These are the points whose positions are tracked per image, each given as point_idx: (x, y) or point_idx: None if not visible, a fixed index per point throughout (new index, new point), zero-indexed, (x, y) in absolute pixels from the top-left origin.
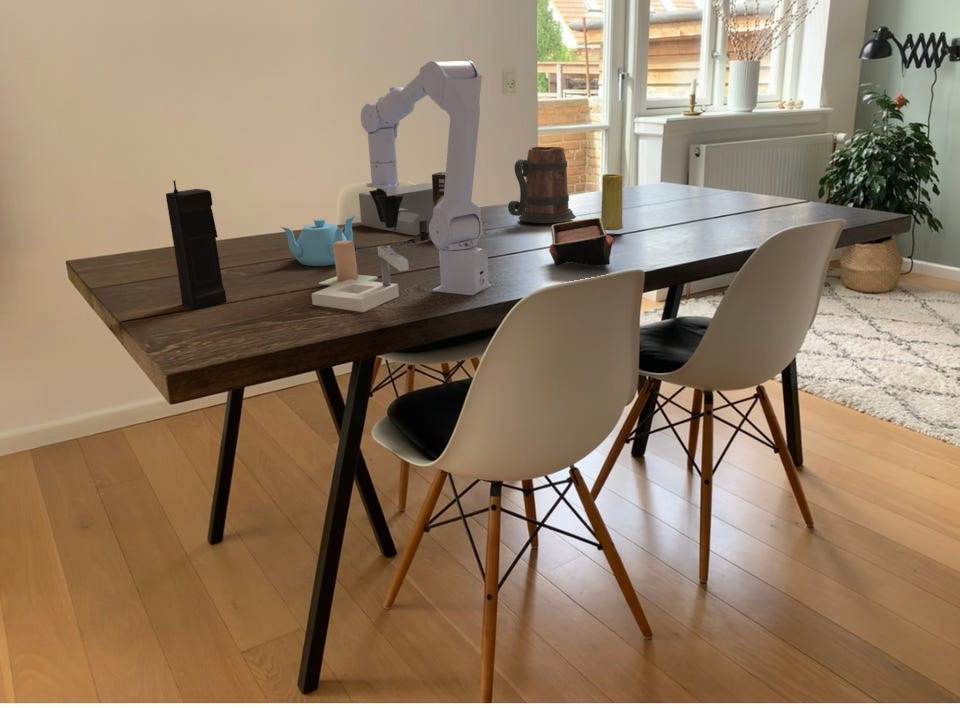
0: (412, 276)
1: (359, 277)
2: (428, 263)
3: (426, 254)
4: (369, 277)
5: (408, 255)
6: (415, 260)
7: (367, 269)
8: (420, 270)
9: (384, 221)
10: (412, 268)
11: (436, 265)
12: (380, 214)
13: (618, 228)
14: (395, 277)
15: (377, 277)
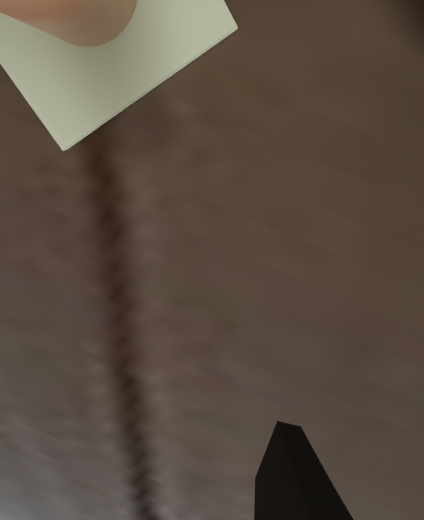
0: (36, 286)
1: (95, 62)
2: (208, 418)
3: (354, 474)
4: (66, 108)
5: (396, 426)
6: (291, 407)
7: (285, 188)
8: (116, 350)
9: (267, 448)
10: (168, 343)
11: (157, 422)
12: (290, 488)
13: None
14: (55, 225)
15: (62, 147)
